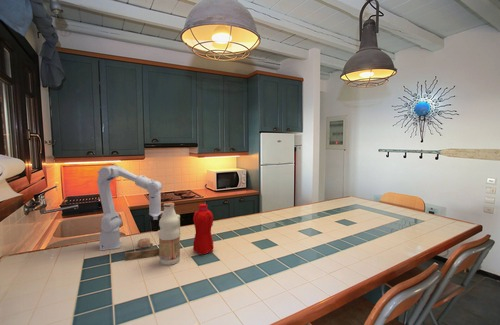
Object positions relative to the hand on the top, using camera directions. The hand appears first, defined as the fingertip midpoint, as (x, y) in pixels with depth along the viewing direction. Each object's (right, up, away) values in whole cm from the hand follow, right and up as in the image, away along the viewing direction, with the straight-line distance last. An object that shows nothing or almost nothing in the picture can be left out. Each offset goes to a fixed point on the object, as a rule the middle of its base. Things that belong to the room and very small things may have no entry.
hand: (155, 229), depth 136 cm
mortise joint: (-3, -11, -7) cm, 13 cm away
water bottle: (+27, -11, -2) cm, 29 cm away
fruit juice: (+12, -12, -14) cm, 22 cm away
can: (+3, -9, +21) cm, 23 cm away
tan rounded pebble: (-8, -10, +4) cm, 14 cm away
